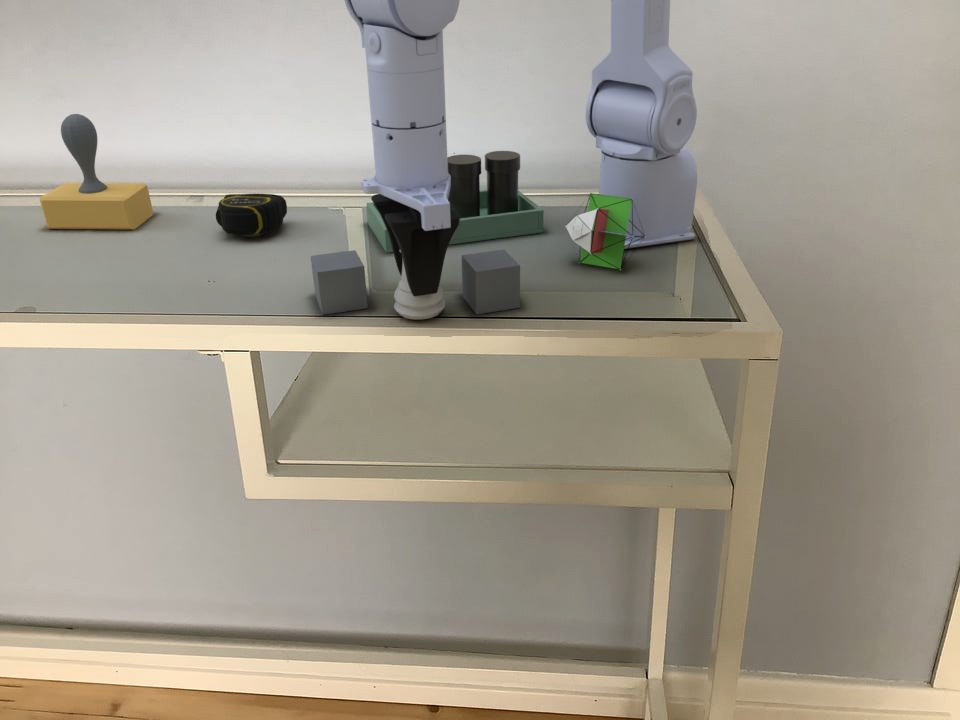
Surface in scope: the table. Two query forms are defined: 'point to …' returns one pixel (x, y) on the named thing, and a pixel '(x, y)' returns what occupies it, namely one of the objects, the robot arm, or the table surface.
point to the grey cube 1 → (339, 282)
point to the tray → (477, 223)
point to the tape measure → (251, 213)
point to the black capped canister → (502, 181)
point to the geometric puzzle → (603, 230)
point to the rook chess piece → (417, 301)
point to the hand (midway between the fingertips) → (418, 284)
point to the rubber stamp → (93, 189)
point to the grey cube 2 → (491, 281)
